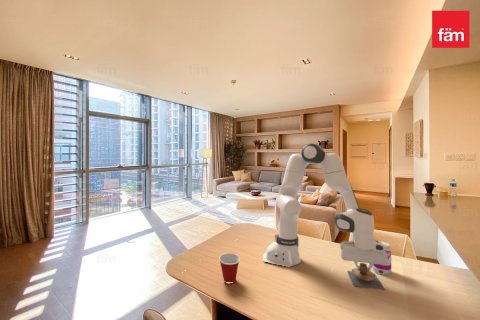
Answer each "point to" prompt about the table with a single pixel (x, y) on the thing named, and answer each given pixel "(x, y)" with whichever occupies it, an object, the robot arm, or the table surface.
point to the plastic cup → (229, 266)
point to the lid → (363, 273)
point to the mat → (365, 282)
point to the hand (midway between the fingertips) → (363, 270)
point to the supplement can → (384, 268)
